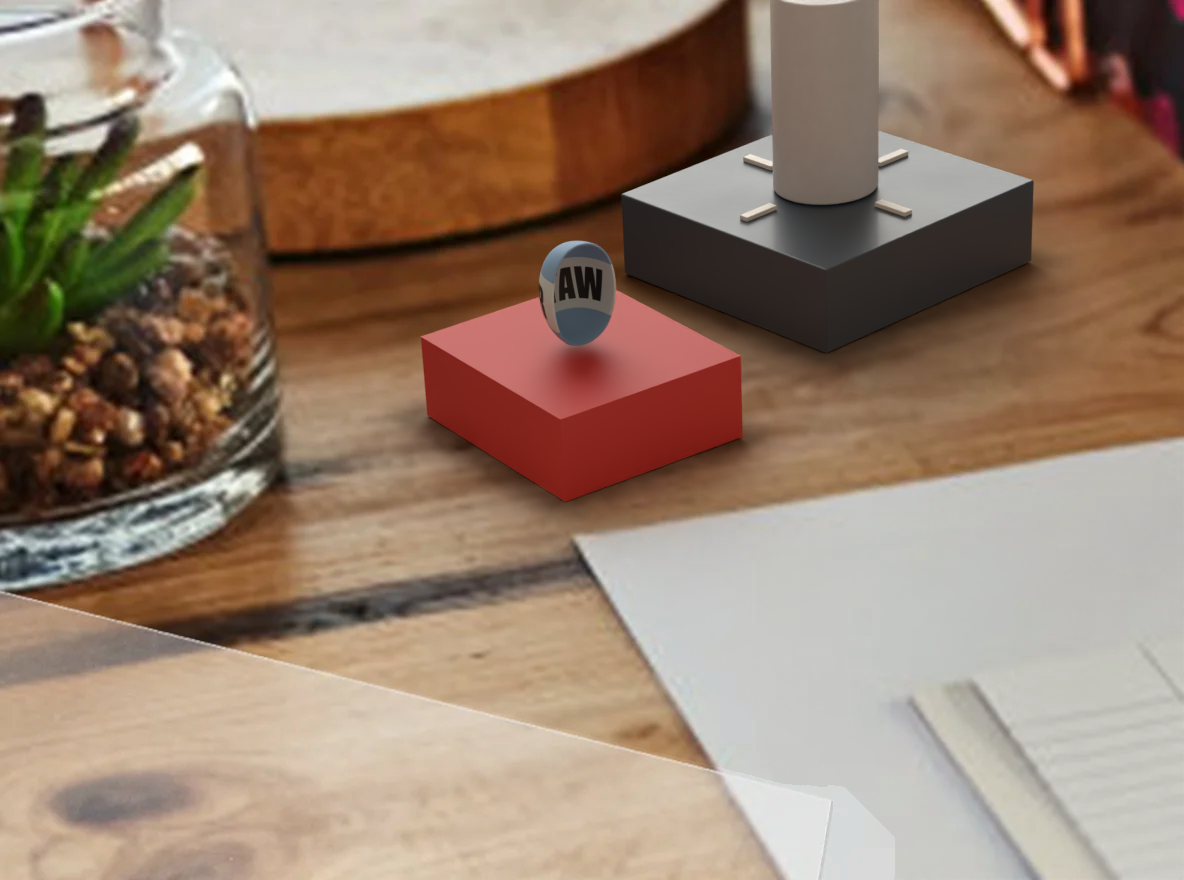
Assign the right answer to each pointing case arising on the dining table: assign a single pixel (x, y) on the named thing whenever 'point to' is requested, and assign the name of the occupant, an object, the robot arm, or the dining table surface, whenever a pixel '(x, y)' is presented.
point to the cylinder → (825, 99)
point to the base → (828, 240)
